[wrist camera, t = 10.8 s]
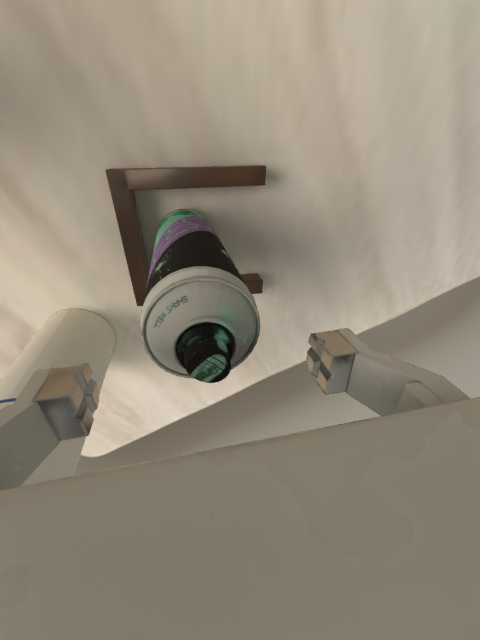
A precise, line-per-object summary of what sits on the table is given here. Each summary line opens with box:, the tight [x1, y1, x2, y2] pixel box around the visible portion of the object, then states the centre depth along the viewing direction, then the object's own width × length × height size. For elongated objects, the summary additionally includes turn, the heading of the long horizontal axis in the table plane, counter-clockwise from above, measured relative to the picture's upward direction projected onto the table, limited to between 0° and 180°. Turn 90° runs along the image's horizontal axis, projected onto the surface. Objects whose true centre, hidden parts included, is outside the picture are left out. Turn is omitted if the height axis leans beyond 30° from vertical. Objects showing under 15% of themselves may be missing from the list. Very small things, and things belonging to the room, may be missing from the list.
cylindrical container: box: [0, 309, 115, 486], centre depth 19 cm, size 7×7×25 cm
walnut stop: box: [106, 165, 266, 306], centre depth 26 cm, size 13×12×2 cm
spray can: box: [140, 209, 260, 383], centre depth 19 cm, size 6×6×20 cm
